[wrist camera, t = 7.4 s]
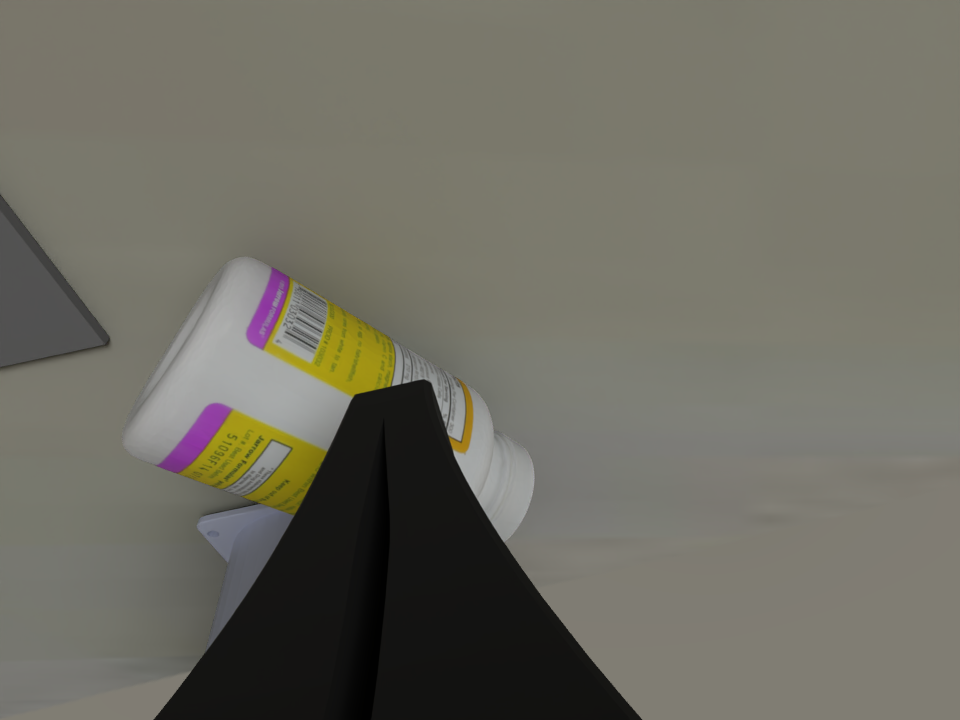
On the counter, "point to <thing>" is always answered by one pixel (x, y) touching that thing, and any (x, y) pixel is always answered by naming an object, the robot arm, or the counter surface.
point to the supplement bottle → (297, 396)
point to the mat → (37, 301)
